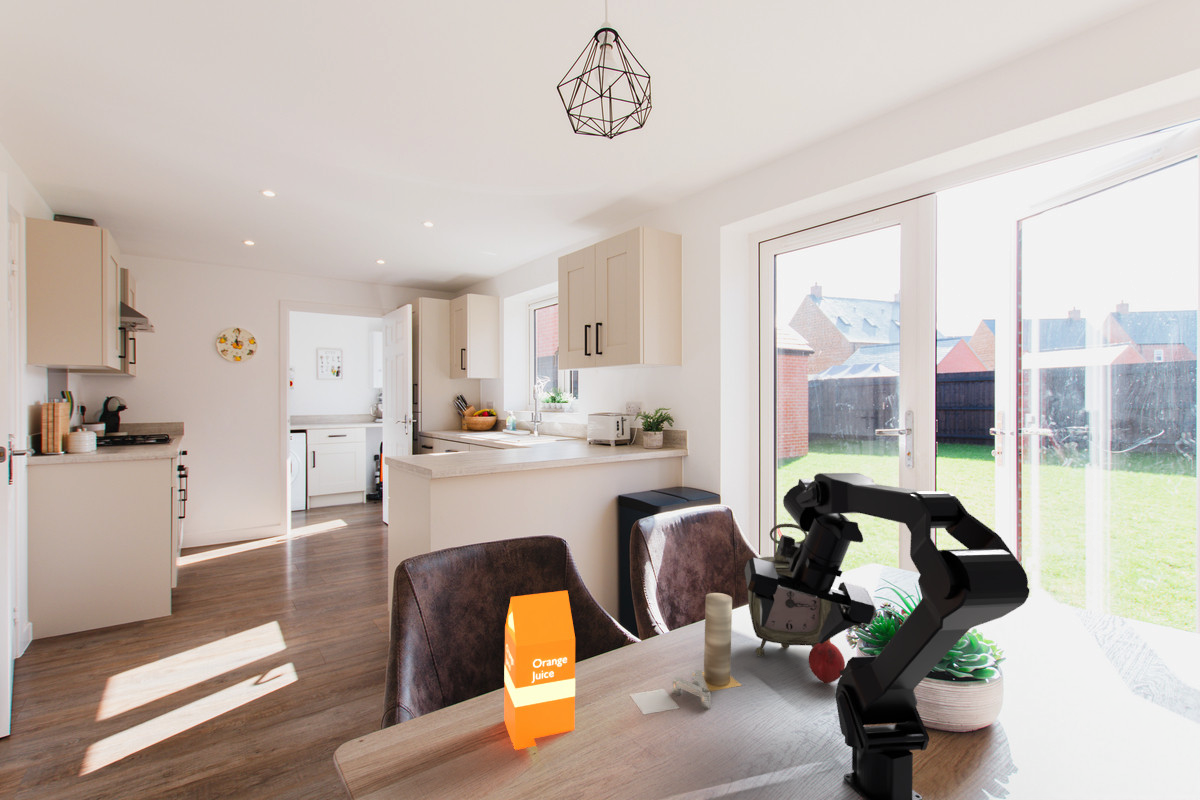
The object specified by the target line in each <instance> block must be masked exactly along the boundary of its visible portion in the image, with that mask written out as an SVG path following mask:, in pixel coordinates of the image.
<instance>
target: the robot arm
mask: <svg viewBox="0 0 1200 800" xmlns="http://www.w3.org/2000/svg"><path fill="white" fill-rule="evenodd" d="M813 479H814V480H812V479H811V478H799V479H798V483H797V485H794V486H793V487H791V488H790V489H789V490H788V491H787V492H786V494H785V495H784V496H783V498H782V499H783V500H782V502H783V503H782V504H783V507H784V509H785V510H786V512H787V513H788V514H789V515H790V516H791V518H792V519H793V520H794V521H795V523H796V525H798V526H800V528H801V529H803V530H804V531H806V532H807V538H806V540H805V542H802V543H801V544H798V543H795V542H796V539H795V538H793V536H788V535H785V534H781V536H780V538H779V540H778V541H779V543H778V544H777V547H776V551H777V553H778V554H779V555H780V556H784V557H786V561H789V562H790V564H789V566H788V568H789V571H790V572H793V574H792V576H791V577H790V576H786V575H782V574H779V573H777V572H776V568H775V565H774V563H772V562H768V561H765V560H761V559H758V558H756V557H751V558H750V559H748V560H747V562H746V565H745V567H744V577H745V582H746V588H747V591H748V590H750V591H751V592H753V593H754V596H755V597H756V598H759V599H760V624H761V627H764V626H765V624H766V623H767V620H768V617H769V614H770V612H771V609H772V606H773V603H774V601H775V600H774V596H773V595H774V594H775V593H776V590H777V587H778V588H782V589H785V590H789V591H793V592H796V593H800V594H804V595H807V596H811V597H814V598H820V599H824V600H828V601H831V602H832V606H831V610H830V612H829V614H828V616H827V618H826V620H825V622H824V624H823V626H822V628H821V631H820V634H819V637H818V641H819V643H820V644H822V643H824V642H826V641H827V640H829V639H830V640H831V639H832V638H834V637H836V636H837V635H838V634H840V633H842V632H844V631H846V630H849V629H850V628H852V627H854V626H856V627H861V625H862V624H865V625H872V623H873V622H874V619H875V617H876V615H877V608H876V606H875V604H874V602H873V600H872V598H871V596H870V593H869V591H868V590H867V588H866V587H863V586H861V585H860V586H859V585H856V584H852V583H848V582H845V581H844V582H840V583H839V585H838V588H833V585H834V583H835V580H836V578H837V577H838V578H841V577H842V576H841V575H842V573H843V568H842V563H843V562H844V559H845V556H846V553H847V551H848V549H849V547H850V544H851V542H853V543H863V542H864V537H863V536H864V535H863V533H862V532H861V530H860V529H859V523H858V522H856V521H851V520H849V518H847V516H846V515H844V514H863V515H867V516H870V517H875V518H879V519H884V520H887V521H888V520H889V521H892V522H895V523H900V524H905V526H906V528H907V529H908V530H909V532H910V547H909V548H910V549H909V556H910V559H911V561H912V564H914V565H915V568H916V569H917V571H918V573H919V577H918V580H917V582H918V587H919V590H920V593H921V596H922V597H921V600H920V601H919V603H918V604H917V605H916V606H915V607H914V609H913V610H912V611H911V613H910V614H909V616H907V618H905V620H904V622H903V623H902V624H901V626H899V628H898V629H897V630H896V632H895V633H894V634H893V636H892V637H891V638H890V640H888V642H887V643H886V645H885V646H884V647H883V648H882V650H881V651H880V652H879V653H878V655H865V656H852V657H850V658H849V659H848V660H847V662H846V664H845V668H844V669H843V670H841V671H839V673H840V674H841V677H840V678H838V682H837V685H836V688H835V694H834V696H835V702H836V708H837V714H838V721H839V726H840V727H839V728H840V732H841V734H842V736H844V743H845V745H846V746H848V747H850V748H851V749H852V750H851V751H852V752H851V769H852V771H853V772H849V773H846V774H843V780H844V782H846V783H847V784H848V785H849V786H850V787H851V788H853V790H854V791H856V792H857V793H858V794H859V795H860V796H861V797H863V799H865V800H923V797H922V795H921V794H919V793H918V792H917V791H915V790H914V789H913V773H914V772H913V771H914V769H913V767H914V766H913V763H914V759H913V758H914V753H913V752H912V751H917V750H918V751H919V750H920V751H926V750H927V748H928V745H929V742H930V736H929V734H928V731H927V729H926V727H925V725H924V722H923V720H922V717H921V715H920V713H919V710H918V708H917V705H918V699H917V697H916V696H917V695H916V693H915V691H914V690H915V689H916V688H917V686H919V684H920V683H921V682H922V681H923V680H924V679H925V678H926V677H927V676H928V675H929V674H930V672H931V671H932V670H933V669H934V668H935V667H936V666H937V665H938V664H939V663H940V661H942V660H943V659H944V657H945V656H946V655H947V654H948V653H949V652H950V651H951V650H952V648H954V647H955V646H956V644H958V642H960V640H961V639H963V637H964V636H965V635H966V634H967V633H968V631H970V629H972V628H974V627H977V626H980V625H984V624H986V623H988V622H989V623H990V622H992V621H994V620H997V619H1001V618H1003V617H1005V616H1006V615H1008V614H1010V613H1011V612H1013V611H1015V610H1017V609H1018V608H1020V607H1022V606H1024V604H1025V603H1026V601H1027V599H1028V598H1029V595H1030V588H1029V587H1028V586H1029V585H1028V584H1029V580H1028V579H1029V578H1028V576H1027V573H1026V571H1025V569H1024V567H1023V566H1022V564H1021V563H1020V561H1018V559H1017V557H1016V556H1014V554H1013V552H1012V551H1011V549H1010V548H1009V547H1008V545H1007V544H1006V543H1005V542H1004V540H1003V539H1002V537H1001V536H1000V535H999V534H998V533H996V532H995V531H994V530H992V529H991V528H990V527H988V526H987V525H985V524H984V523H982V521H980V520H978V519H977V518H976V517H975V516H973V514H971V513H970V512H968V511H967V510H966V508H965V506H964V505H963V504H962V502H961V500H959V499H958V498H957V496H956V495H954V494H952V493H949V492H946V491H926V490H917V489H911V488H905V487H904V488H903V487H898V486H889V485H883V484H877V483H875V482H874V479H873V478H872V477H869V476H867V475H864V474H862V473H860V472H859V473H858V472H832V473H831V472H828V473H827V472H825V473H823V472H822V473H821V472H820V473H817V474H815V475H814V476H813ZM932 529H945V530H946V532H947V534H948V535H950V537H953V538H954V540H956V541H957V542H959V543H960V544H961V545H963V546H964V547H966V548H964V549H962V548H961V549H938V548H937V545H936V544H935V543H934V541H933V539H932V537H931V535H932Z"/></svg>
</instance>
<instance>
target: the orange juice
mask: <svg viewBox="0 0 1200 800" xmlns="http://www.w3.org/2000/svg"><path fill="white" fill-rule="evenodd" d="M568 592H569V591H568V590H559V591H553V592H552V591H551V592H550V591H549V592H541V593H533V594H524V595H517V596H510V601H509V602H510V603H509V606H508V611H507V615H506V622H505V626H504V676H503V677H504V679H503V680H504V701H503V702H504V706H503V707H504V708H503V709H504V710H503V711H504V714H503V715H504V719H503V720H504V724H505V726H506V729H507V733H508V735H509V737H510V741H511V744H512V743H513V744H512V747H513V746H514V747H513V749H515V750H514V751H517V750H518V751H519V750H522V749H527V747H528V748H532V746H533V747H535V746H538V745H537V743H536V740H535V739H538V738H542V737H543V738H544V737H548V736H553V735H557V734H562V733H566V732H571V731H574V730H575V723H576V722H575V716H576V715H575V710H576V709H575V708H576V705H575V704H576V701H575V700H576V636H575V629H574V624H573V623H574V622H573V617H572V611H571V605H570V598H569V593H568ZM516 749H517V750H516Z"/></svg>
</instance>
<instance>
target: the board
mask: <svg viewBox="0 0 1200 800" xmlns="http://www.w3.org/2000/svg"><path fill="white" fill-rule="evenodd" d="M694 674H695V673H692V676H694ZM702 674H703V676H704V671H702ZM706 684H707V687H708V690H709V691H710V692H714V691H719V690H727V689H730V688H731V689H732V688H736V687H741V686H742V684H741V683H740V682H738V680H737V679H735V678H734V676H732V675H730V683H729V684H728V685H726V686H714V685H711V684H708V683H707V682H706ZM628 695H629V697H630V698H631V699H632V701H633V702H634V704H635V705H636V706H637V708H638V709H639V710H640V712H641V713H642V715H643V716H646V715H650V714H656V713H660V712H661V713H662V712H666V711H671V710H676V709H680V706H679V705H678V703H676V702H675V700H673V698H672V697H671V696H670V694H669V693H668V692H667V691H666V690H665V689H664V688H660V689H658V688H657V689H654V690H647V691H641V692H635V693H630V694H628Z"/></svg>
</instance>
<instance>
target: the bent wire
mask: <svg viewBox="0 0 1200 800" xmlns="http://www.w3.org/2000/svg"><path fill="white" fill-rule="evenodd" d="M694 671H695V672H694V673H693V674H694V675H693V678H694V679H693V683H692V682H689V681H688V680H685V679H683V678H681V677H679V676H674V677H673V678H672V689H671V691H672V695H673V696H675V697H680V696H681V695H682V690H683V691H686V692H688V693H690V694H691V695H694V696H696V697H698V698H700V699H701V700H700V701H701V703H700V704H701V705H700V706H701V709H702V710H705V711H707V710H710V709H711V702H712V701H711V698H712V697H711V696H712V695H711V691H709V690H708V687H707V684H706V682H705V679H704V676H703V674H702V672H703V670H700V669H696V670H694Z"/></svg>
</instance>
